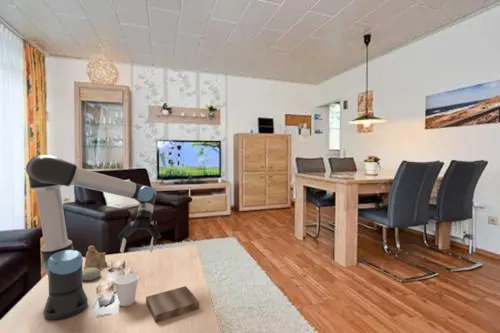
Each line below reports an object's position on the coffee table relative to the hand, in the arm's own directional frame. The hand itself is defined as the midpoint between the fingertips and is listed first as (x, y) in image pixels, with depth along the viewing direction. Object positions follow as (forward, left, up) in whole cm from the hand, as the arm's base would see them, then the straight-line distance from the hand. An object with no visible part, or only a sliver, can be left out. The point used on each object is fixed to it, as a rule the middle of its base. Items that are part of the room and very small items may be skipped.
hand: (136, 251), depth 128 cm
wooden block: (+10, -23, -19) cm, 31 cm away
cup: (-6, -10, -19) cm, 22 cm away
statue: (-15, +40, -19) cm, 47 cm away
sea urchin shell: (-18, +26, -19) cm, 37 cm away
